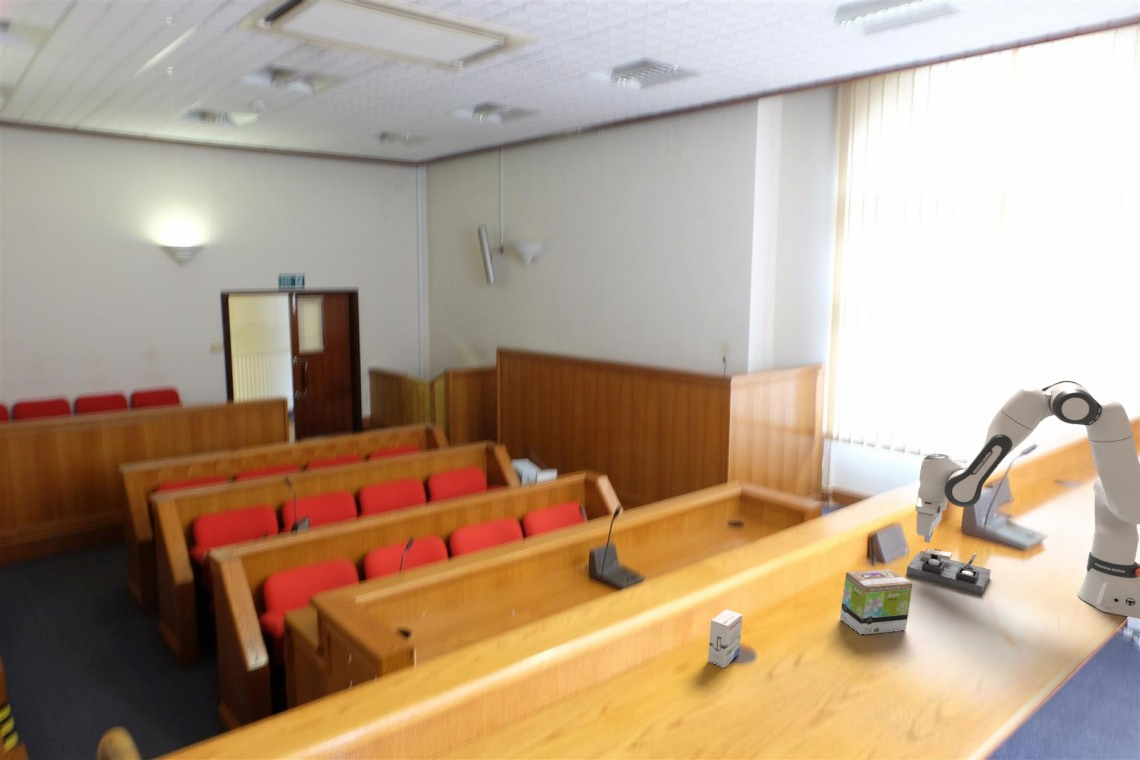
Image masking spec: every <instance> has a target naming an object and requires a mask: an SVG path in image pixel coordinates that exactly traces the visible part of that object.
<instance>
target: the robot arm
mask: <svg viewBox="0 0 1140 760" xmlns="http://www.w3.org/2000/svg"><path fill="white" fill-rule="evenodd" d="M1052 416H1055V417H1056V418H1057V419H1058V420H1060V421H1061V422H1062V423H1066V424H1070V425H1079V426H1085V429H1086V432H1087V437H1088V443H1089V446H1090V447H1089V448H1090V451H1091V452H1090V453H1091V457H1092V461H1093V464H1094V468H1095V469H1096V472H1097V474H1098V477H1096V479H1095V480H1094V482H1093V489H1092V490H1093V494H1094V531H1093V538H1092V544H1091V550H1090V551H1089V553H1088V557H1087V561H1086V573H1085V577H1084V578H1083V579H1084V580H1083V582H1082V585H1081V586H1080V589H1079V590H1078V591H1077V596H1078V598H1079V599H1080V600H1082V601H1084V602H1086V603H1088V604H1090V605H1092V606H1093V607H1095V608H1096V609H1097V610H1099V611H1101V612H1105V613H1109V614H1114V615H1117V616H1118V615H1119V616H1125V617H1128V618H1129V617H1130V618H1134V619H1138V620H1140V562H1137V561H1136V557H1137V551H1138V546H1139V542H1140V541H1139V540H1140V537H1139V533H1138V526H1137V525H1140V461H1139V457H1138V452H1137V448H1136V442H1135V437H1134V433H1133V428H1132V425H1131V423H1130V422H1131V421H1130V418H1129V416H1128V414H1127V411H1126V410H1125V407H1124V406H1123V404H1121V403H1120V402H1118V401H1117V400H1112V399H1103V400H1099V399H1095V398H1094V397H1093V395H1092V394H1091V393H1090V392H1089V391H1088V390H1087V389H1086V388H1085V387H1084V386H1082V385H1081V384H1079V383H1078V382H1075V381H1071V380H1061V381H1059V382H1056V383H1053V384H1051V385H1048V386H1046V387H1044V388H1042V389H1039V388H1037V387H1033V386H1024V387H1022V388H1021V389H1019V390H1018V391H1016V393H1014V394H1013V396H1011V397H1010V398H1009V399H1008V400H1007V401H1006V402H1005V403H1004V405H1003V406H1002V407H1001V408H1000V409H999V410H998V411H997V413H996V414H995V416H994V417H993V419H992V421H991V423H990V425H989V426H988V430H987V433H986V438H985V442H984V444H983V446H982V448H981V450H979V451H980V452H978V453H977V455H976V456H975V458H974V459H973V460H972V462H970V464H969V465H968V466H965V465H962V464H961V463H959V462H957V461H955V460H953V459H952V457H950V456H949V455H947V454H945V453H944V454H942V453H933V454H928V455H927V456H925V457H924V458H923V460H922V462H921V465H920V469H919V470H920V473H919V488H918V489H917V490H918V491H917V499H916V504H915V512H916V528H915V529H916V534H917V535H918V536H921V537H924V538H923V539H924V540H923V541H924V543H929V544H930V543H931V541H932V540H933V534H934V531H935V529H936V528H937V527H938V525H939V524H940V522H941V520H942V518H943V517H942V516H943V511H945V510H946V509H947V503H948V502H949V503H951V504H952V505H954V506H955V507H959V508H969V507H972V506H974V505H976V503H978V502H979V501H980V498H981V495H982V490H983V486H984V484H985V483H986V481H987V480H988V479H989V478H990V476H991V475H992V474H993V473H994V471H995V470H996V469H997V468H998V466H999V465H1000V464H1001V463H1002V461H1003V460H1004V459H1005V458H1007V456H1009V454H1010V453H1011V452H1013V451H1014V450H1015V449H1016V448H1017V447H1018V446H1020V444H1023V442H1024V441H1025V440H1026V439H1027V438H1028V437H1029V436H1030V435H1031V434H1032V433H1033V432H1034V430H1035V429H1036V428H1037V426H1039V424H1040V423H1041V422H1042V421H1044V420H1045V419H1046V418H1049V417H1052Z"/></svg>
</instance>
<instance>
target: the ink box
mask: <svg viewBox="0 0 1140 760" xmlns="http://www.w3.org/2000/svg"><path fill="white" fill-rule="evenodd" d="M742 626H743V614H741V613H739V612H736V611H733V610H732V609H731V610H730V609H728V608H726V609H723V611H722V612H720V613H719V614H718V615H716V616H715V617H713V618H712V619H710V630H709V643H708V653H707V654H708V656H707V657H708V658H707V662H708V663H710V662H711V663H710V664H712V663H713V665H714V664H716V665H715V666H717V665H718V666H717V667H719V666H721V667H723V668H722V669H725V668H727V666H729V665H730V664H729V663H730V662H731V661H732V660H733V659H734V658H735V657H736V656H737V655H738V656H740V646H741V635H742ZM738 656H737V657H738ZM737 657H736V658H737ZM736 658H735V659H736ZM735 659H734V660H735ZM734 660H733V661H734ZM733 661H732V662H733ZM721 667H720V668H721ZM724 667H725V668H724Z"/></svg>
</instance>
